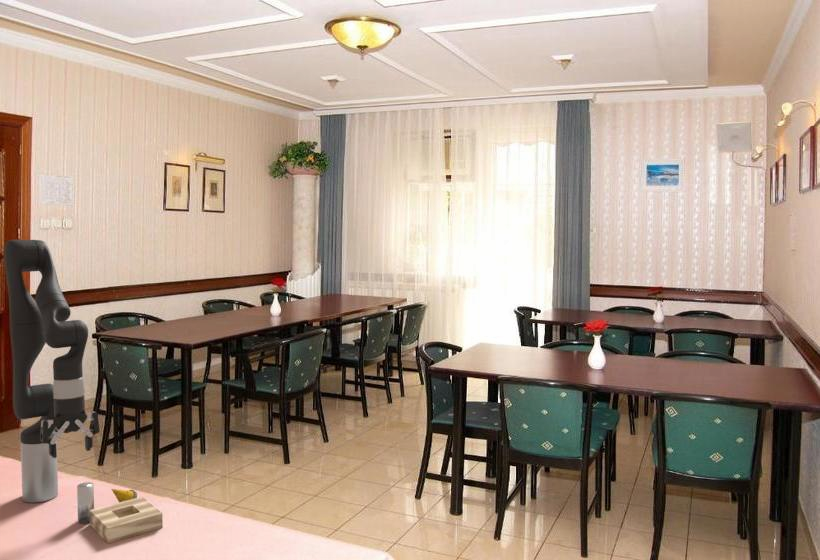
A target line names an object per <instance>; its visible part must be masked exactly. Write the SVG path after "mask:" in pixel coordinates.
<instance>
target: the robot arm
mask: <svg viewBox="0 0 820 560" xmlns="http://www.w3.org/2000/svg"><path fill="white" fill-rule="evenodd" d="M3 263H4V269H5V276H6V277H5V278H6V284H7V289H8V290H7V291H8V304H9V306H8V307H9V330H10V332H9V333H10V343H11V352H12V353H11V354H12V355H11V356H12V366H13V369H12V370H13V371H12V374H13V375H12V406H13V412H14V416H15V417H16V418H17V419H18V420H29V419H34V418H40V419H38V421H36V422H35V423H34V424H32V425H30V426H28V427H25V428H24V429H23V430H22V431H20V436H19V437H20V460H21V461H20V463H21V488H22V489H21V490H22V492H21V493H22V494H21V495H22V501H23V502H26V503H30V504H31V503H32V504H34V503H42V502H47V501H50V500H53V499H54V498H56V497H57V496H58V495H59V478H58V477H59V475H58V474H59V473H58V446H57V445H58V439H59V438H60V437H61V436H62V435H63V434H69V433H72V432H73V433H75V432H79V430H80V431H82V433H83V434H84V435H85V436H84V443H85V444H84V447H85V451H87V452H89V451H92V450H91V449H93V446H94V445H93V437H94V436H95V435H96V434H99V433H100V423H99V414H98V412H96V410H95V411H94V410H92V411H90V412H87V413H86V404H85V403H86V402H85V401H86V400H85V393H86V392H85V391H86V390H85V382H84V378H83V375H84V374H83V359H84V355H85V350H86V346H87V343H88V339H89V329H88V326H87V324H86V323H85V322H84V321H83V320H80V319H74V320H73V319H72V320H68V319H69V318H70V317H71V314H72V312H71V309H70V306H69V304H68V302H67V300H66V298H65V296H64V294H63V292H62V289H61V287H60V283H59V280H58V276H57V271H56V267H55V263H54V260H53V257H52V253H51V250H50V248H49V245H47V243H46V242H45V241H43V240H39V239H9V240H8V241H6V243H5V244H4V247H3ZM24 272H25V273H26V272H27V273H29V272H32V273H33V272H39V273H40V274H41V280H40V282H39V284H38V286H37V288H36V291H35V294H34V295H35V297H33V296H32V295H31V293H30V291H29V290H28V289H27V286H26V284H25V280H24V277H23V273H24ZM45 345H47V346H49V347H50V348H51V349H62V348H63V349H64V348H69V350H68V352H67V353H65V354H63V355H60V356H57V357H55V358H54V359H53V362H52V371H53V384H52V383H41V384H34V385H28V383H29V376H30V372H31V370H32V368H33V366H34V364H35V362H36V360H37V358H38V357H39V355H40V354H41V352H42V350H43V348H44V347H45ZM87 419H88V420H89V421H90V423H91V429H88V427H87V426H86V425H85V424H84V423H85V422H86V421H87Z"/></svg>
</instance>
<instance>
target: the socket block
mask: <svg viewBox="0 0 820 560" xmlns="http://www.w3.org/2000/svg"><path fill="white" fill-rule="evenodd" d="M89 526H90V527H92V529H94V530H95V532H97V534H99V536H100V537H101V538H102V539H103V540H104V541H105V542H106V543H107V544H111V543H114V542H115V543H116V542H117V541H121V540H125V539H128V538H131V537H134V536H138V535H142V534H146V533H149V532H152V531H156V530H158V529H162V528H163V527H164V526H163V512H162V511H160V509H158V508H157V507H156V506H155V505H153V504H152V503H151V502H149V501H148V500H147V499H145V497H144V496H140V497H139V496H138V497H137V498H135V499H131V500H127V501H123V502H119V501H118V502H116V503H113V504H109V505H104V506H100V507H97V508H94V509H92V510H90V523H89Z"/></svg>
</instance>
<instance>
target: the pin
mask: <svg viewBox="0 0 820 560" xmlns="http://www.w3.org/2000/svg"><path fill="white" fill-rule="evenodd" d="M94 485H95V484H94V483H93V482H89V481H86V482H82V483H79V484H77V486H76V488H77V489H76V492H77V493H76V494H77V522H78V523H77V524H79V525H88V524H90V510H92V509H95V487H94Z"/></svg>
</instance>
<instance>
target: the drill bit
mask: <svg viewBox="0 0 820 560" xmlns="http://www.w3.org/2000/svg"><path fill="white" fill-rule="evenodd" d="M111 492H112V493H113V494H114V496H115V498H116V499H117V501H118V503H119V502H123V501H127V500H131V499H135V498H138V493H137V492H136V491H135V490H134V489H129V490H126V489H116V488H111Z"/></svg>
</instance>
